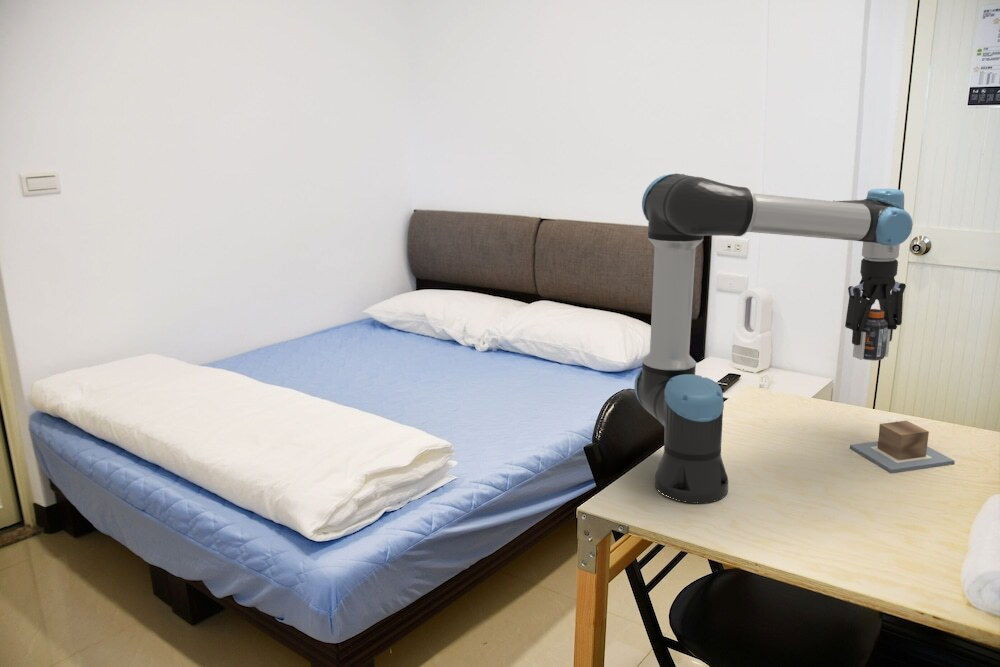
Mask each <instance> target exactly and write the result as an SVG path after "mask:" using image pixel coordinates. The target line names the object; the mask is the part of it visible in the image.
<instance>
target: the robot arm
mask: <svg viewBox="0 0 1000 667" xmlns="http://www.w3.org/2000/svg"><path fill="white" fill-rule="evenodd" d="M641 208H642V213H643V215H644V218H645V219H646V221H647V222H648V225H647V226H648V227H647V232H648V233H647V240H649V242H651V244H652V245H653V247H654V254H653V256H654V258H653V276H652V278H653V279H652V300H651V317H650V318H651V319H650V320H651V321H650V323H651V324H650V344H649V353H647V355H645V356H644V357H643V359H642V364H641V365H642V366H641V369H640V370H639V371H638V372H637V374H636V377H635V380H634V393H635V396H636V399H637V400H638V402H639V404H640V405H641V406H642V408H643V409H644V410H645V411H647V413H648V414H650V415H651V416H653V417H654V418H655V420H657V421H658V422H659V423H660V424H661V425H662V426H663V427H664V438H663V439H664V441H663V442H664V443H663V445H664V446H663V453H662V456H661V459H660V461H659V464H658V466H657V470H656V472H655V476H654V487H655V486H656V487H655V489H656V488H657V489H658V490H659V491H660V492H661V493H663V494H664V495H667V496H669V497H671V498H674V499H677V500H680V501H686V502H696V503H695V504H704V503H703V502H708V503H711V502H710V501H713V502H715V501H714V500H717V499H719V500H721V499H723V498H724V497H726V495H727V494H728V492H729V477H728V474H727V471H726V468H725V465H724V462H723V458H722V434H723V417H724V416H723V415H724V414H723V413H724V409H725V408H724V407H725V401H724V393H723V390H722V387H721V386H720V384H718V383H717V382H716V381H715V380H713V379H711V378H709V377H706V376H705V377H703V376H701V375H697V374H696V366H697V365H696V364H697V362H696V360H695V359H694V358H693V357H692V356H691V355H690V346H691V328H692V316H693V314H692V312H693V298H694V281H695V267H696V251H697V250H696V249H697V247H698V246H699V245H700V244H701V243H702V242H703V241H704V237H705V236H718V237H719V236H721V237H722V236H725V237H728V236H729V237H743V236H744V235H745V234H747V233H758V234H767V235H768V234H770V235H779V236H791V237H805V238H817V239H829V240H830V239H831V240H842V241H853V242H854V241H855V242H861V243H862V249H861V256H862V257H863V258H862V259H861V261H860V262H861V263H860V276H861V279H860V281H859V284H857V285H855V286H853V285H849V287H847V290H848V295H849V296H848V303H847V310H846V318H845V323H844V324H845V326H844V327H845V328H846V329H850V330H851V331H852V338H851V344H852V345H853V350H852V357H853V358H855V359H858V360H860V361H861V360H864V359H863V358H864V348H865V337H866V332H864V331H863V329H864V326H865V323H866V321H867V318H868V315H869V312H870V309H872V307H873V305H875V304H876V303H875V302H876V301H877V302H878V304H879V310H883V311H884V318H883V319H884V320H886V321H887V323H888V327H887V336H886V345H885V355H884V358H886V357H887V358H888V357H889V349H890V342H892V340H893V331H895V330H897V328H898V326H901V325H902V323H903V306H904V293H905V289H906V288H907V285H906V283H903V282H899V281H896V280H895V277H896V276H897V275H898V266H899V261H898V260H897V259H898V258H899V255H900V248H901V247H900V246H901V244H902V243H904V242H905V241H906V240H908V238H909V237H910V235H911V234H912V230H913V218H912V216H911V215H910V213H909V212H908V211H906V210H905V192H904V191H902V190H901V189H896V188H873V189H870V190H868V192H867V196H866V198H865V199H855V200H854V199H853V200H852V199H851V200H827V199H826V200H823V199H814V198H805V197H804V198H802V197H792V196H782V195H774V194H773V195H772V194H763V193H762V194H761V193H754V192H753V191H752V190H751V189H750V188H748V187H745V186H736V185H731V184H726V183H722V182H719V181H715V180H712V179H709V178H706V177H702V176H694V175H693V176H692V175H688V174H685V173H682V174H681V173H677V172H676V173H668V174H664V175H662V176H659V177H657V178H655V179H654V180H653V181H652V182H651V183H650V184H648V186H647V188H646V189H645V191H644V192H643V196H642V200H641ZM657 489H656V490H657ZM658 490H657V491H658ZM661 493H660V494H661ZM664 495H663V496H664ZM723 496H724V497H723ZM722 497H723V498H722ZM720 498H721V499H720ZM680 501H679V502H680ZM717 501H718V500H717ZM686 502H685V503H686ZM697 502H698V503H697ZM701 502H702V503H701Z"/></svg>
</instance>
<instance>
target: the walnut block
mask: <svg viewBox="0 0 1000 667" xmlns="http://www.w3.org/2000/svg"><path fill="white" fill-rule="evenodd" d="M878 430H879V431H878V438H877V441H878V449H880V450H881V451H883V452H885V453H887V454H888V455H890V456H892V457H894V458H895V459H897V460H905V459H912V458H919V457H926V452H927V446H928V442H929V433H930V432H929V430H927V429H924V428H923V427H920V426H918V425H916V424H914V423H912V422H910V421H908V420H901V421H892V422H884V423H880V424H879V429H878Z"/></svg>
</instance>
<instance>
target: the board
mask: <svg viewBox="0 0 1000 667" xmlns="http://www.w3.org/2000/svg"><path fill="white" fill-rule="evenodd" d="M849 449H851V450H852V451H853V452H856V453H857V454H858V455H860V456H862V457H864V458H866V459H867V460H869V461H870V462H872V463H874V464H875V465H877V466H879V467H880V468H882V469H884V471H887V472H888V473H890V474H893V473H894V474H895V473H901V472H907V471H908V472H909V471H914V470H922V469H928V468H935V467H936V466H937V467H943V466H942V465H944V466H949V464H951V465H955V460H954V459H952V458H950V457H949V456H947V455H945V454H943V453H941V452H939V451H937V450H936V449H934V448H931V447H929V446H928V445H927V452H926V457H919V458H912V459H905V460H897V459H895V458H894V457H892V456H890V455H888V454H887V453H885V452H883V451H881V450H880V449H878V440H876V441H871V442H861V443H855V444H853V443H852V444H849Z"/></svg>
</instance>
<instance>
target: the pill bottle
mask: <svg viewBox="0 0 1000 667" xmlns="http://www.w3.org/2000/svg"><path fill="white" fill-rule="evenodd" d="M883 318H884V311H883V310H880V308H879V309H877V308H871V309H870V312H869V315H868V318H867V321H866V323H865V326H864V329H863V331H864V332H866V337H865V348H864V358H863V359H862V360H865V361H874V362H875V361H883V360H884V359H885V357H884V355H885V345H886V336H887V327H888V323H887V321H886V320H884V319H883Z"/></svg>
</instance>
